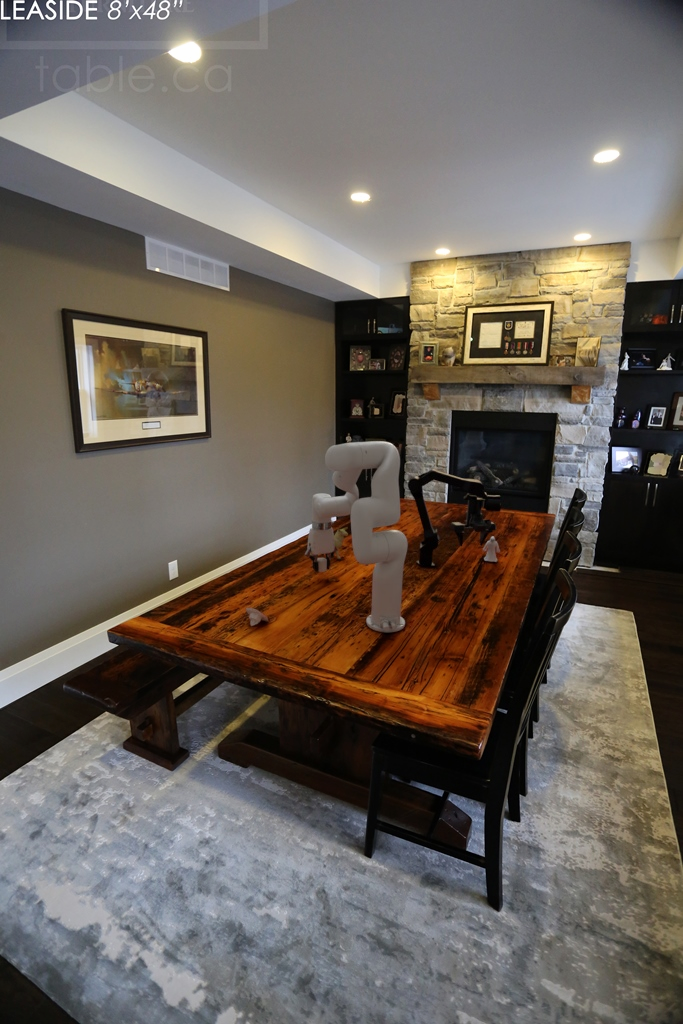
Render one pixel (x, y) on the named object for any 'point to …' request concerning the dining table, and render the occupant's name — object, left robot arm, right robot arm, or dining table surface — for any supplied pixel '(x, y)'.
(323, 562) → the canister
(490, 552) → the figurine
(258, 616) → the seashell
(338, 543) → the toy
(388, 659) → the dining table surface
